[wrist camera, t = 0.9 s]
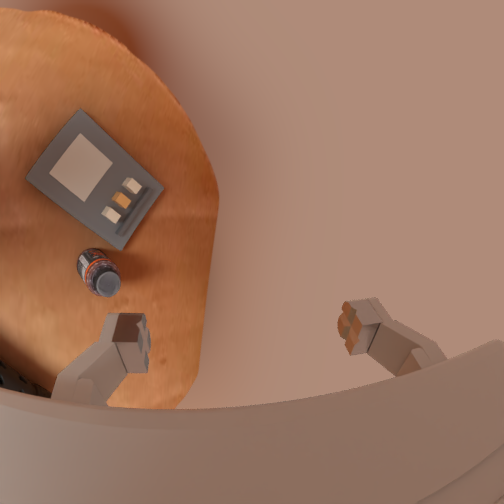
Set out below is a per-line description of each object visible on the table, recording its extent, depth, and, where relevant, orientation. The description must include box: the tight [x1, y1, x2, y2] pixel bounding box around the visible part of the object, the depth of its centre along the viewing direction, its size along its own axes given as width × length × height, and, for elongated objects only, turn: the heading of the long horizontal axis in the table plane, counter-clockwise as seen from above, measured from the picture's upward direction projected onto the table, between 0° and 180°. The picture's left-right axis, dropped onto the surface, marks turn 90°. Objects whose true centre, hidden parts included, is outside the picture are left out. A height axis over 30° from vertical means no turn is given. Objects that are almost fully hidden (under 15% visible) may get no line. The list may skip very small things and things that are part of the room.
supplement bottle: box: [77, 248, 121, 297], centre depth 43 cm, size 6×6×11 cm
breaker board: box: [25, 108, 164, 251], centre depth 42 cm, size 22×14×4 cm, turn 44°
